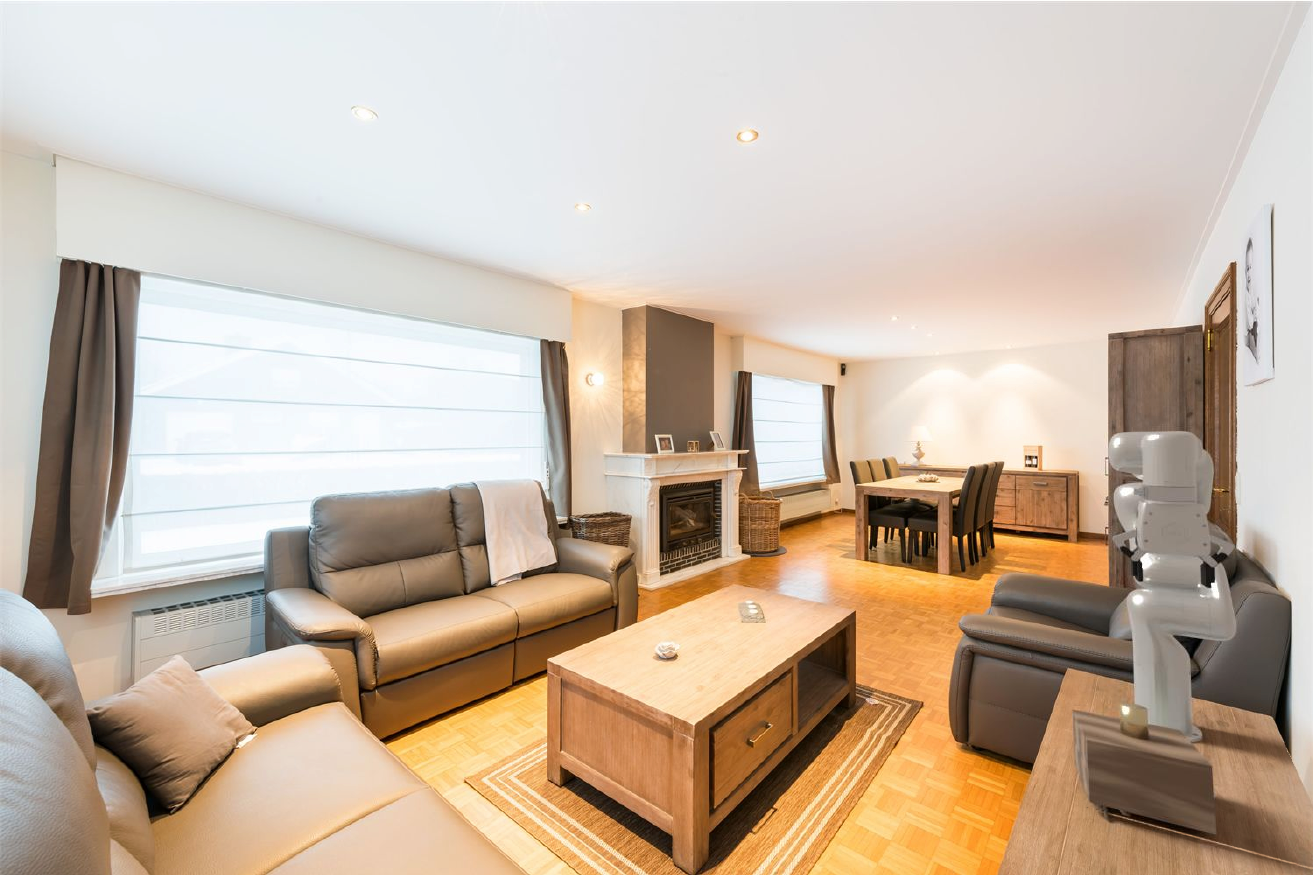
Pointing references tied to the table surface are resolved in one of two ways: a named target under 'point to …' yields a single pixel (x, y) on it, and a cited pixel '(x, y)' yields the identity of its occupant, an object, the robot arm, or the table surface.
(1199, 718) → the table surface
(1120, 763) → the walnut cover
